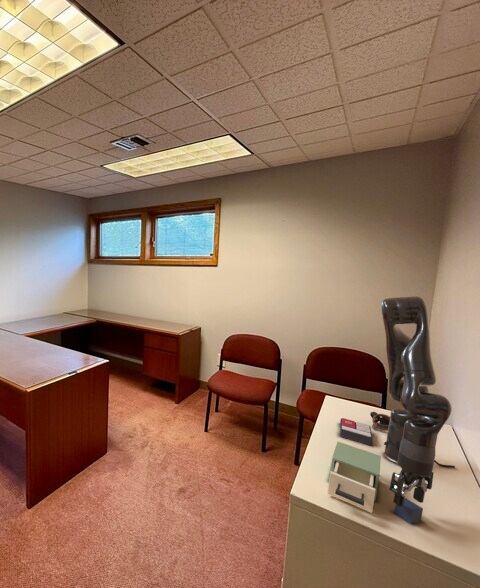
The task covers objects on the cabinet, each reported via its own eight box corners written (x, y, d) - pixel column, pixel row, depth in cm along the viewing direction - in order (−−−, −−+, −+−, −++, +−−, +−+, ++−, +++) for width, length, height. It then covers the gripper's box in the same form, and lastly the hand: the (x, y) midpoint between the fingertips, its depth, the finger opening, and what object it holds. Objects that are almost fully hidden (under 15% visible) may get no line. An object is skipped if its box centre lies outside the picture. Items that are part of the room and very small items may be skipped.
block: (403, 510, 103) (405, 498, 102) (420, 521, 99) (423, 508, 98) (394, 512, 102) (396, 500, 101) (410, 523, 98) (412, 511, 97)
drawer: (371, 523, 96) (374, 499, 95) (325, 502, 104) (328, 480, 103) (374, 491, 110) (377, 470, 109) (332, 474, 118) (335, 455, 117)
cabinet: (375, 501, 106) (379, 474, 105) (328, 482, 115) (332, 457, 114) (377, 479, 117) (380, 455, 116) (334, 463, 126) (337, 441, 124)
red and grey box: (370, 424, 150) (372, 436, 138) (369, 433, 150) (371, 445, 138) (340, 416, 156) (340, 427, 145) (339, 425, 157) (339, 436, 145)
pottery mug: (402, 434, 149) (402, 422, 146) (383, 442, 150) (382, 430, 147) (378, 415, 161) (377, 404, 157) (360, 423, 161) (359, 412, 158)
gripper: (417, 445, 103) (410, 491, 105) (385, 450, 100) (377, 497, 102) (448, 459, 96) (439, 508, 98) (414, 465, 92) (405, 515, 94)
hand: (408, 502), depth 100 cm, fingers open, 8 cm apart
